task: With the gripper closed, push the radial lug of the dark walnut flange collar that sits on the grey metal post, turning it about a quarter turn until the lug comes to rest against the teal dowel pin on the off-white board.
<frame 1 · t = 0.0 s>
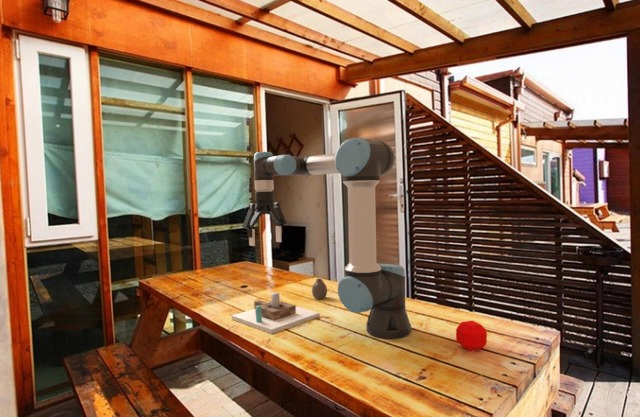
hand: (265, 243, 159), 28 cm above the table, fingers open, 13 cm apart
avocado: (319, 298, 179), on the table
base: (275, 317, 153), on the table
ball: (471, 348, 120), on the table
collar: (270, 308, 155), point 3 cm above the table, hinge at 0.0°
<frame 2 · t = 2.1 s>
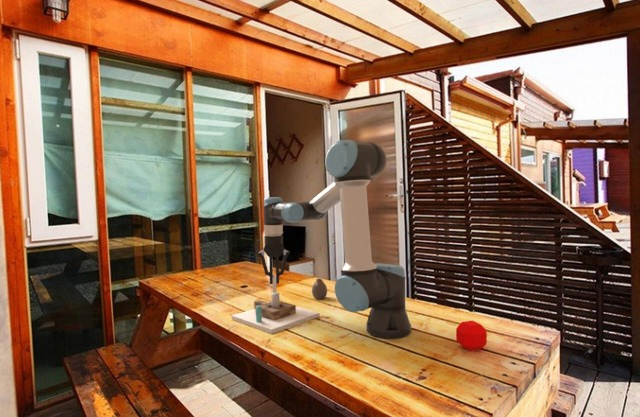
hand: (274, 291, 163), 8 cm above the table, fingers closed
nothing on the table moved.
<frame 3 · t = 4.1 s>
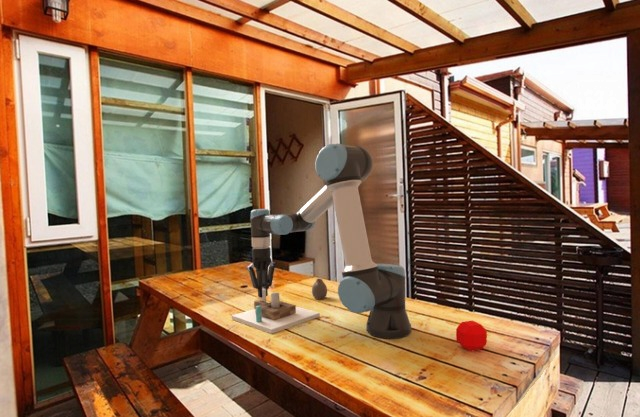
hand: (263, 304, 161), 3 cm above the table, fingers closed
collar: (270, 308, 155), point 3 cm above the table, hinge at 0.1°, touching gripper
everything else where it was.
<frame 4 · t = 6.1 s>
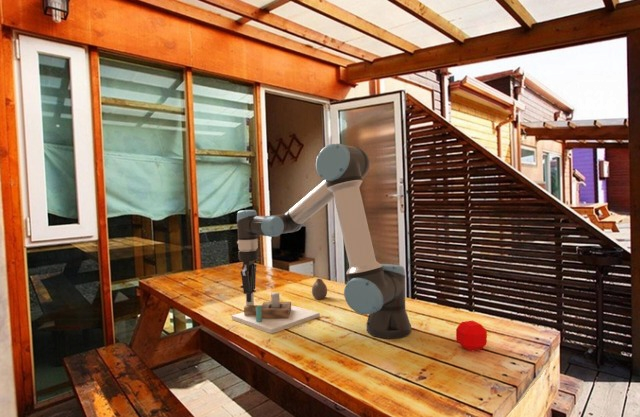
hand: (250, 309, 155), 3 cm above the table, fingers closed
collar: (267, 309, 152), point 3 cm above the table, hinge at 42.0°, touching gripper
everything else where it was.
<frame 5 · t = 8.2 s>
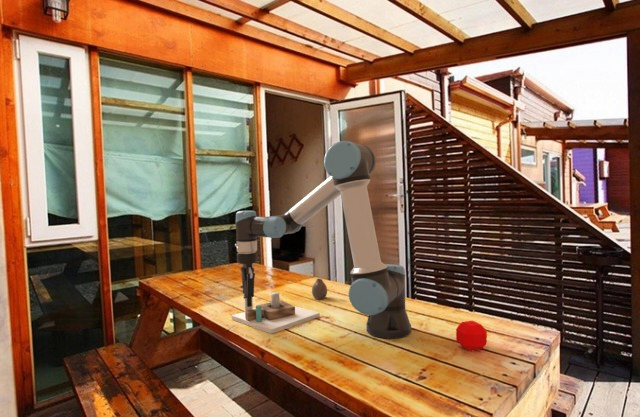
hand: (248, 314, 149), 3 cm above the table, fingers closed
collar: (268, 311, 151), point 3 cm above the table, hinge at 77.0°, touching gripper
everything else where it was.
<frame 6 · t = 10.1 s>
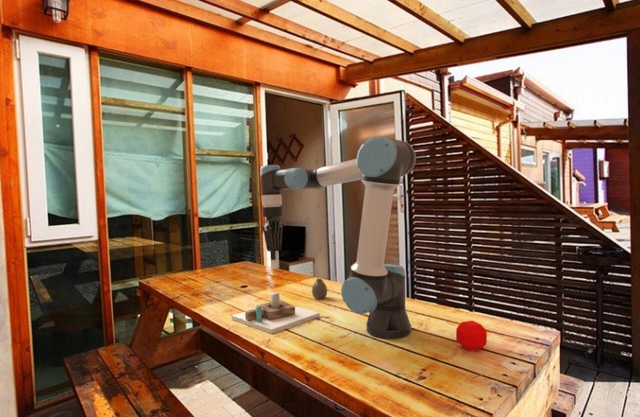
hand: (275, 267, 150), 20 cm above the table, fingers closed
collar: (268, 311, 151), point 3 cm above the table, hinge at 77.0°
everything else where it was.
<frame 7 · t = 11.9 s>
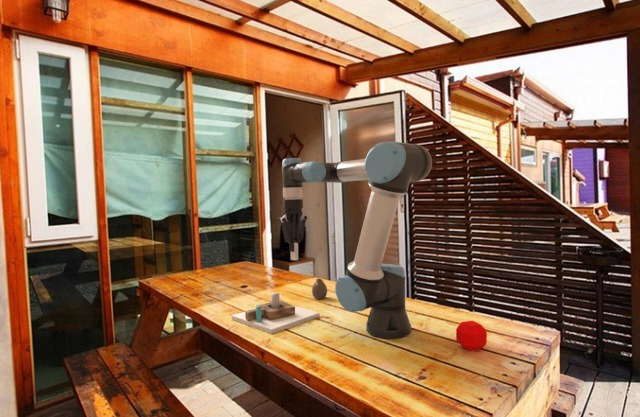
hand: (294, 259, 152), 22 cm above the table, fingers closed
nothing on the table moved.
at the end: collar at +77° (first picture: +0°); collar touching nothing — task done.
